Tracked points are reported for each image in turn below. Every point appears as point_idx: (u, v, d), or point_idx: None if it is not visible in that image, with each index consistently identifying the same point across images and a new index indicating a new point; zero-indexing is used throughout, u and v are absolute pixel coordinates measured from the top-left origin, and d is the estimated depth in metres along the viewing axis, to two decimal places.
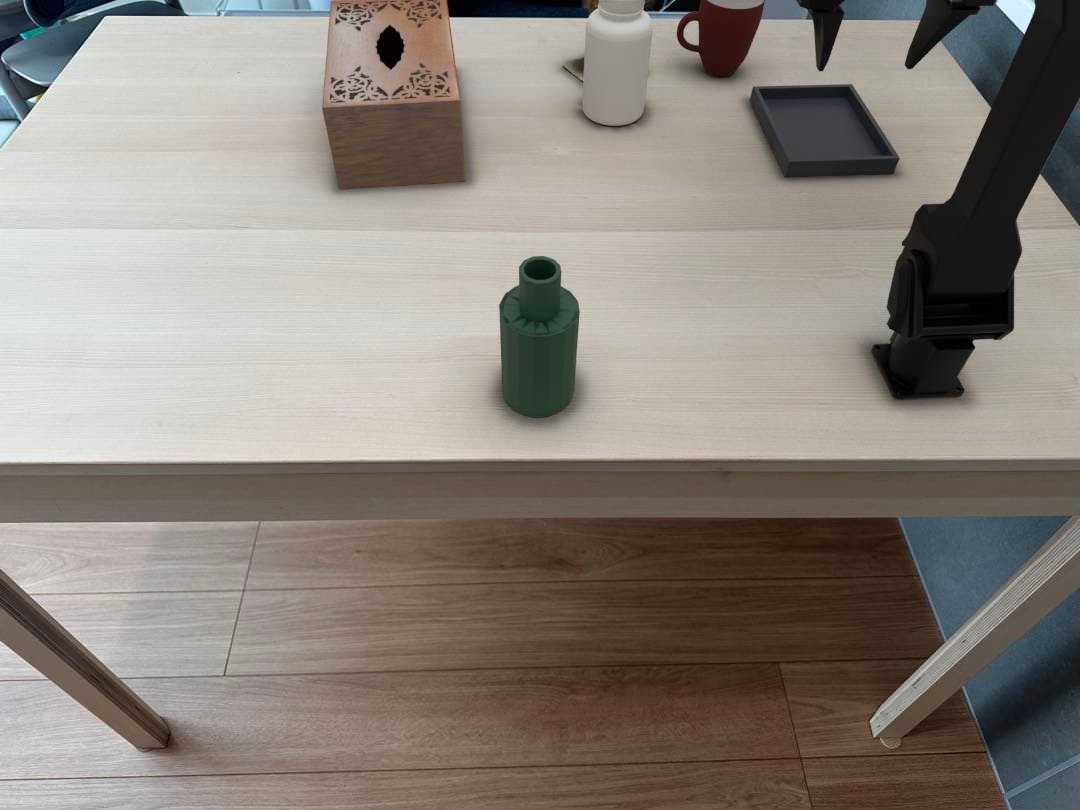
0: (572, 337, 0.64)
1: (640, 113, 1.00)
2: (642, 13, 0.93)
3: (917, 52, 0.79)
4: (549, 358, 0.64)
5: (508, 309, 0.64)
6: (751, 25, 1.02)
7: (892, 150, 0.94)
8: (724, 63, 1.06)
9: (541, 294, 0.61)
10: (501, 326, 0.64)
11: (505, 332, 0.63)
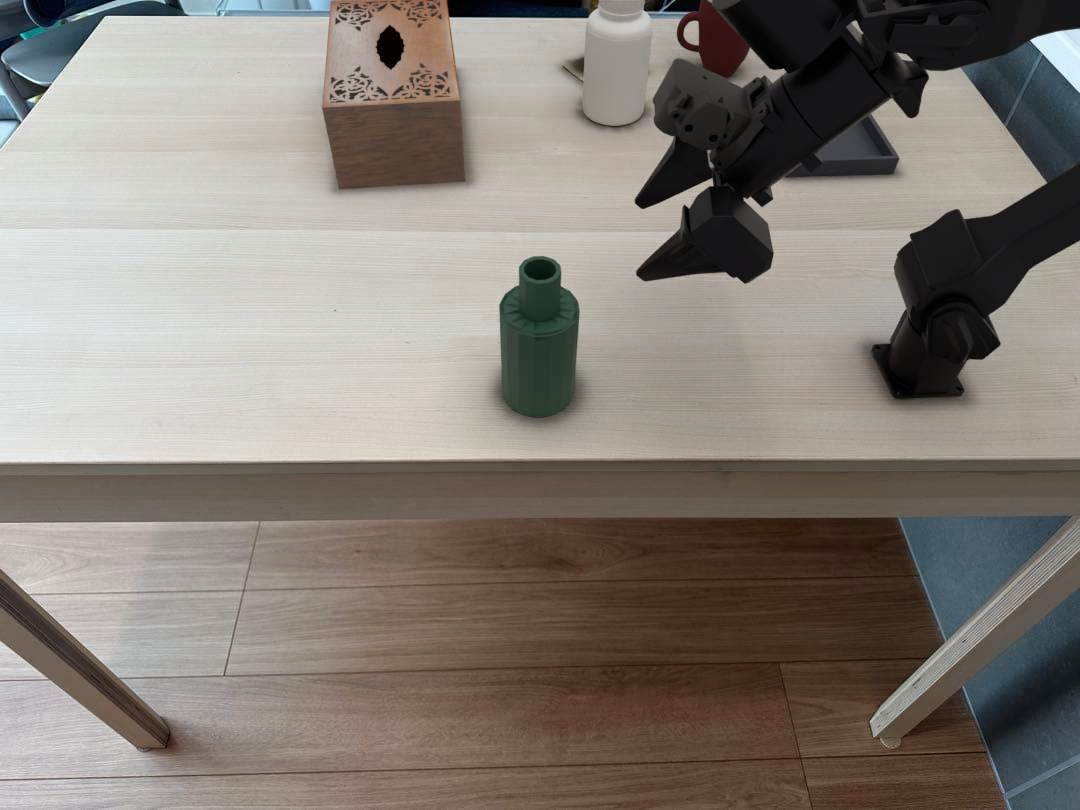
0: (572, 337, 0.64)
1: (640, 113, 1.00)
2: (642, 13, 0.93)
3: (663, 197, 0.66)
4: (549, 358, 0.64)
5: (508, 309, 0.64)
6: None
7: (892, 150, 0.94)
8: (724, 63, 1.06)
9: (541, 294, 0.61)
10: (501, 326, 0.64)
11: (505, 332, 0.63)
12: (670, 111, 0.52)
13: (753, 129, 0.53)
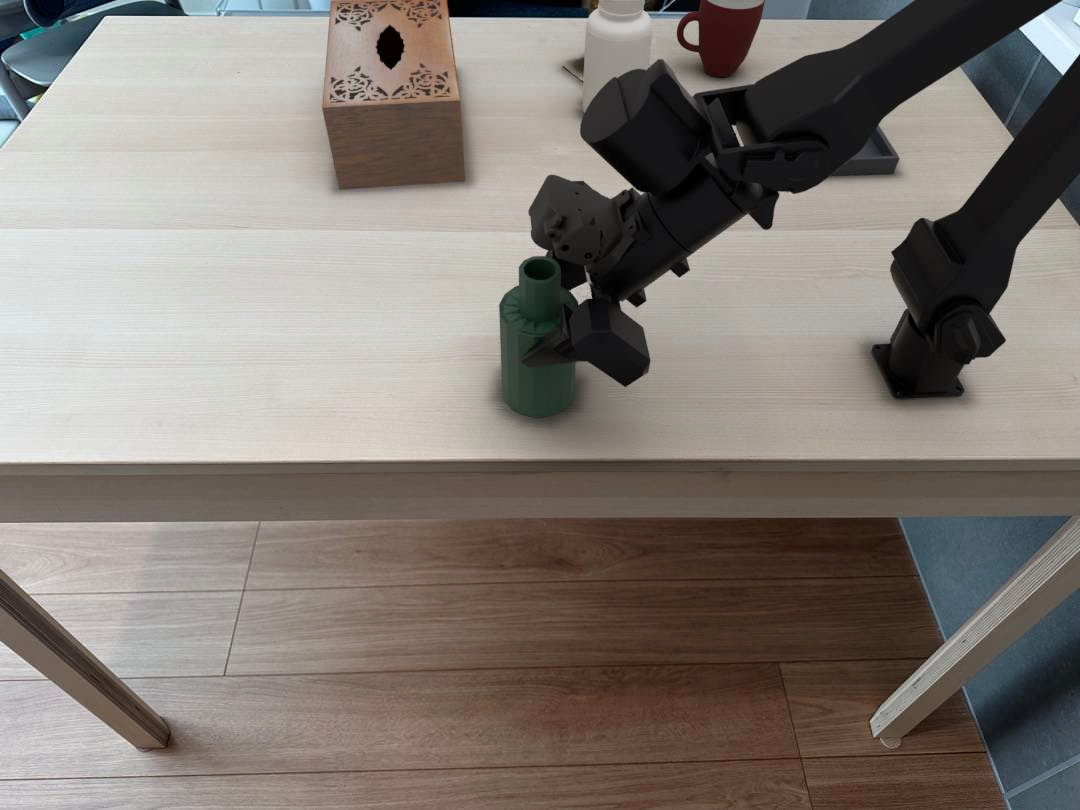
0: None
1: None
2: (642, 13, 0.93)
3: None
4: None
5: (508, 309, 0.64)
6: (751, 25, 1.02)
7: (892, 150, 0.94)
8: (724, 63, 1.06)
9: (541, 294, 0.61)
10: (501, 326, 0.64)
11: (505, 332, 0.63)
12: (547, 231, 0.54)
13: (625, 243, 0.56)
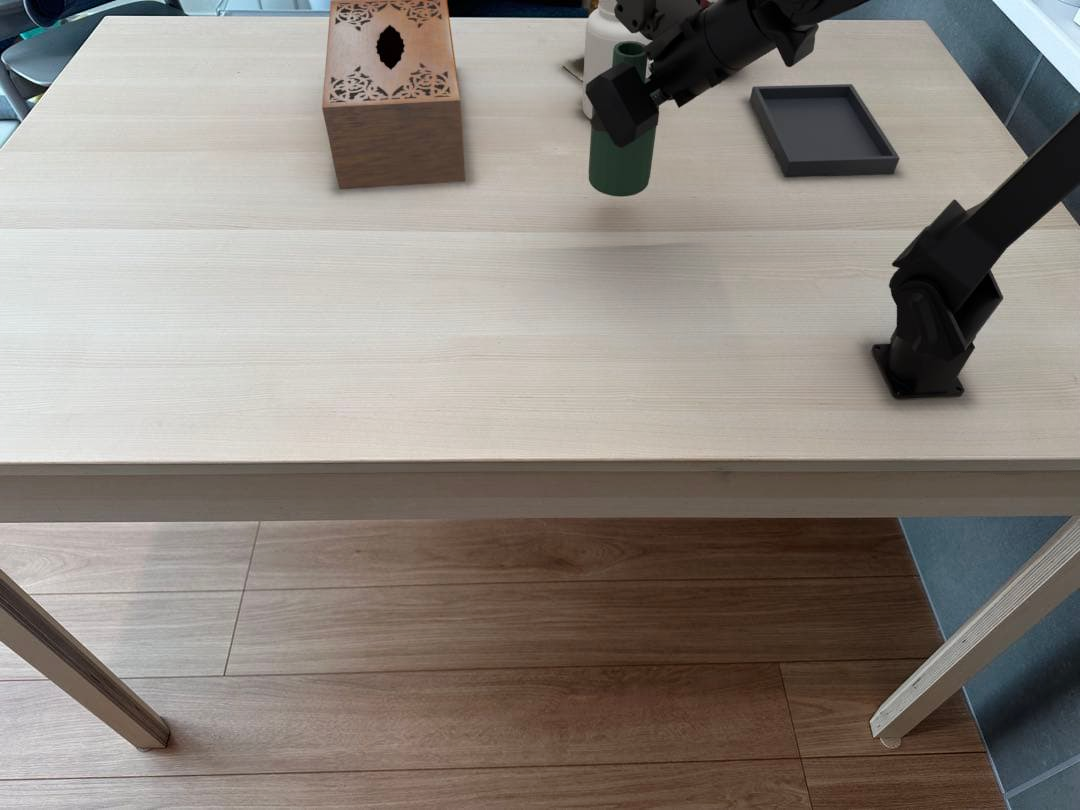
0: None
1: None
2: None
3: None
4: None
5: None
6: None
7: (892, 150, 0.94)
8: None
9: None
10: None
11: None
12: None
13: (673, 32, 0.67)
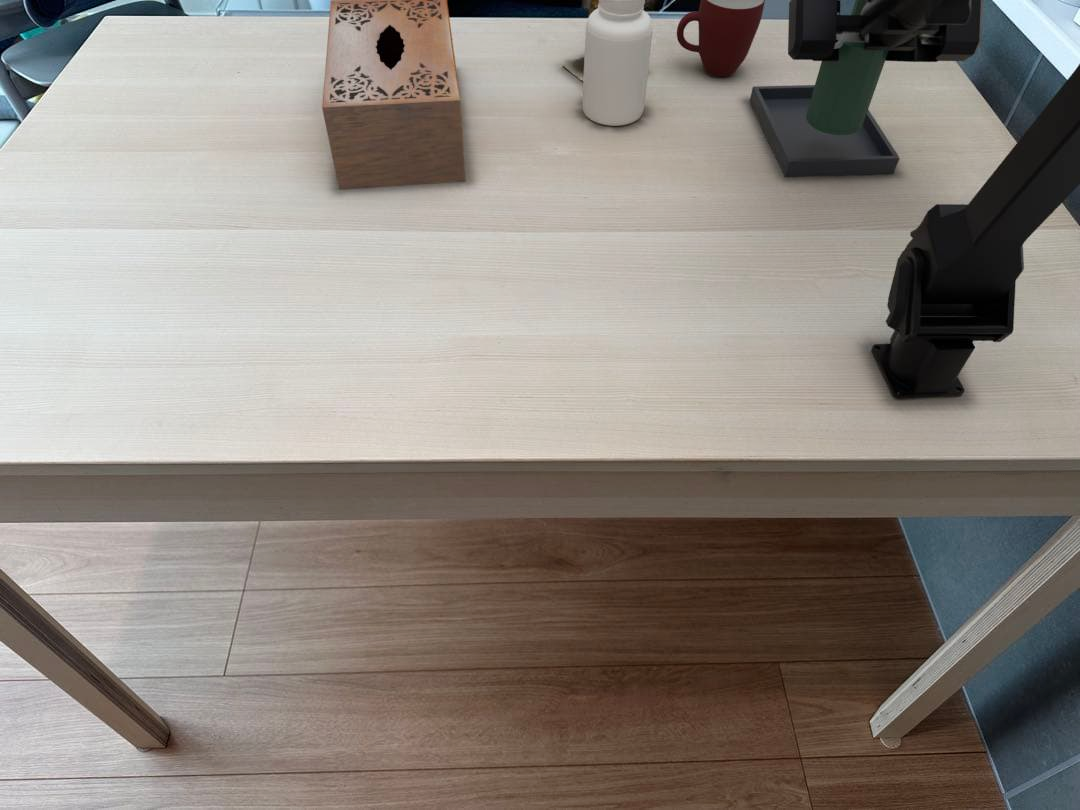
0: (845, 59, 0.85)
1: (640, 113, 1.00)
2: (642, 13, 0.93)
3: (886, 57, 0.86)
4: None
5: None
6: (751, 25, 1.02)
7: (892, 150, 0.94)
8: (724, 63, 1.06)
9: (855, 6, 0.83)
10: None
11: None
12: None
13: None
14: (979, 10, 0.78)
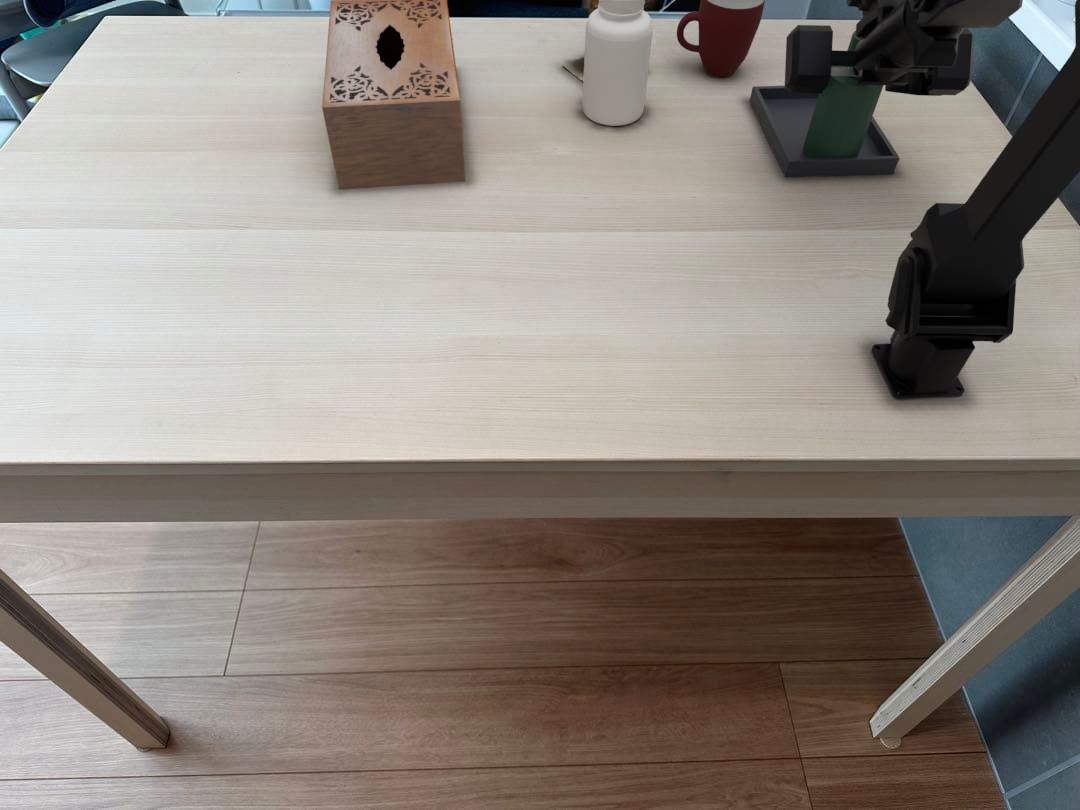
0: (840, 96, 0.88)
1: (640, 113, 1.00)
2: (642, 13, 0.93)
3: (893, 89, 0.89)
4: (822, 96, 0.90)
5: None
6: (751, 25, 1.02)
7: (892, 150, 0.94)
8: (724, 63, 1.06)
9: (850, 46, 0.86)
10: None
11: None
12: None
13: (873, 15, 0.78)
14: (970, 47, 0.81)
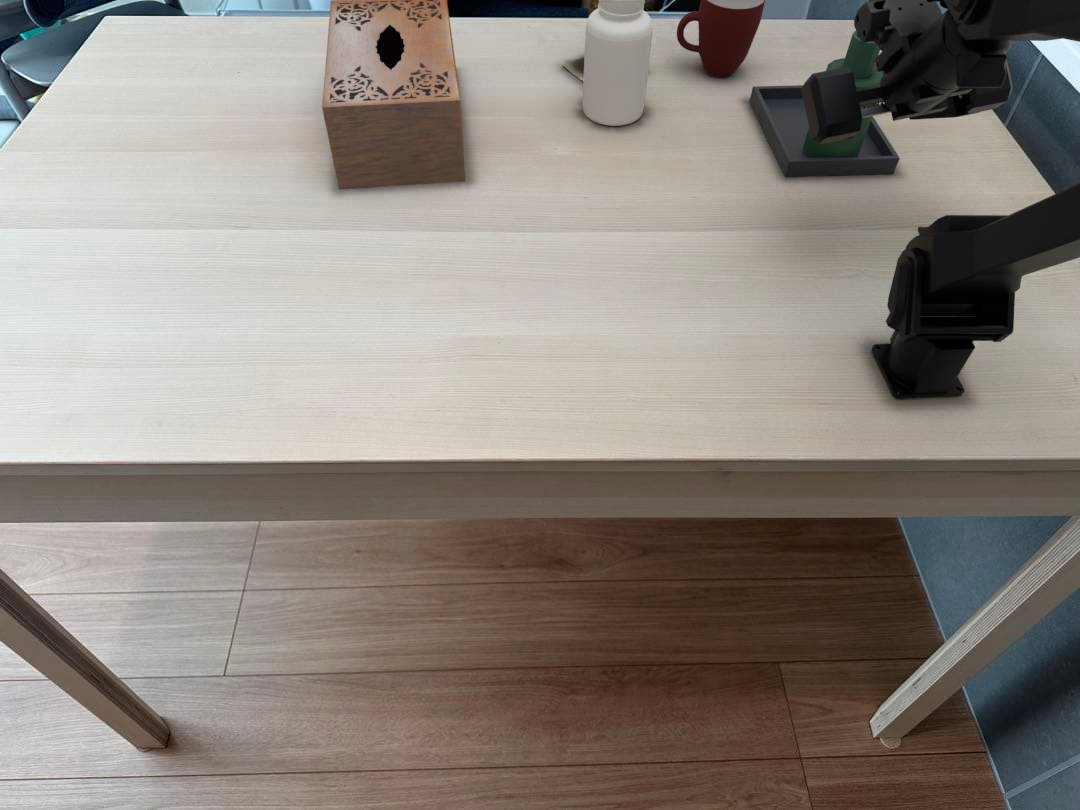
0: None
1: (640, 113, 1.00)
2: (642, 13, 0.93)
3: (920, 116, 0.82)
4: None
5: None
6: (751, 25, 1.02)
7: (892, 150, 0.94)
8: (724, 63, 1.06)
9: (850, 46, 0.86)
10: None
11: None
12: (863, 4, 0.73)
13: (896, 45, 0.71)
14: None
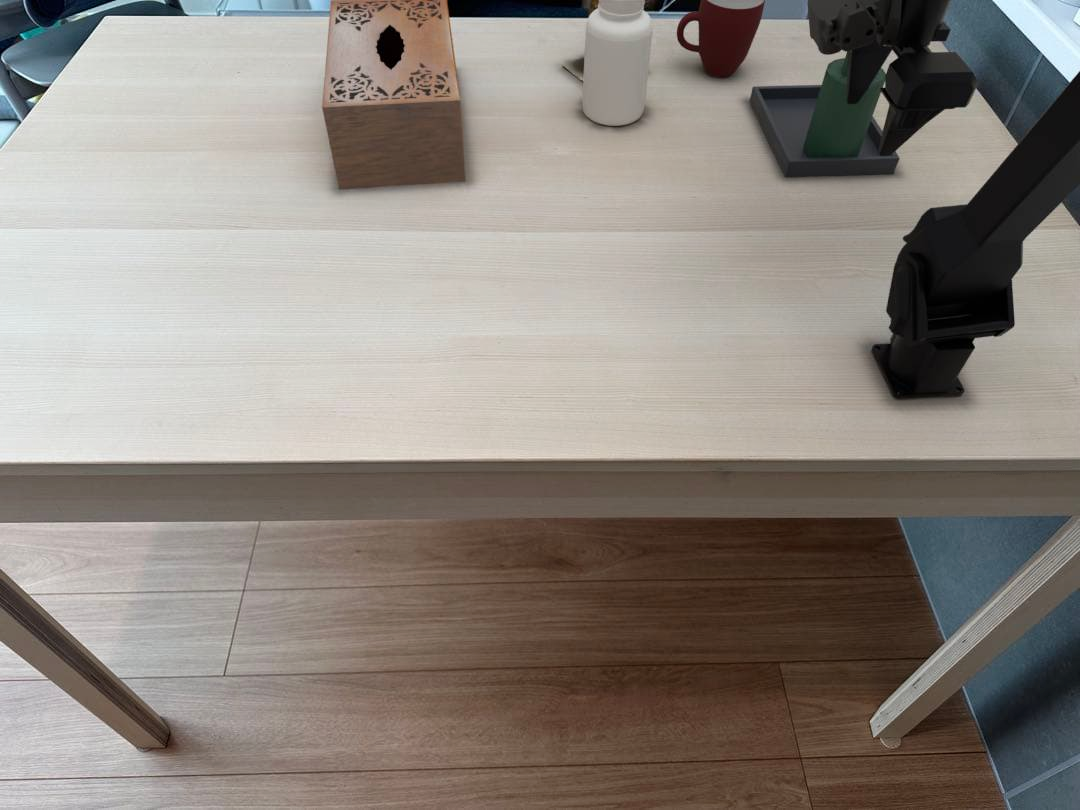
0: (840, 96, 0.88)
1: (640, 113, 1.00)
2: (642, 13, 0.93)
3: (867, 84, 0.78)
4: (822, 96, 0.90)
5: None
6: (751, 25, 1.02)
7: None
8: (724, 63, 1.06)
9: None
10: None
11: None
12: (826, 39, 0.66)
13: (897, 1, 0.65)
14: None
